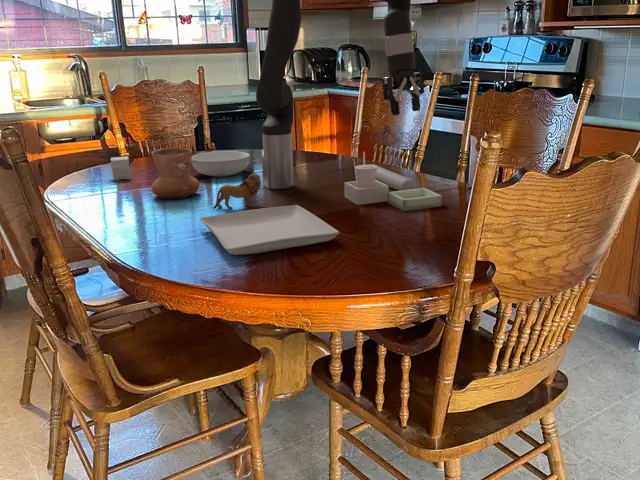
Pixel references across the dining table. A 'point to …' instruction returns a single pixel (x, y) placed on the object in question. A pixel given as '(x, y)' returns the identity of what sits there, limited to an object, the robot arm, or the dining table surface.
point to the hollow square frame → (366, 192)
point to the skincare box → (120, 168)
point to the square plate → (268, 229)
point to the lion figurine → (239, 191)
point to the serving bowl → (220, 163)
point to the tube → (393, 179)
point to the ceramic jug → (174, 173)
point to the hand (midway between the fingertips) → (406, 112)
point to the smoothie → (365, 174)
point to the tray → (414, 199)
